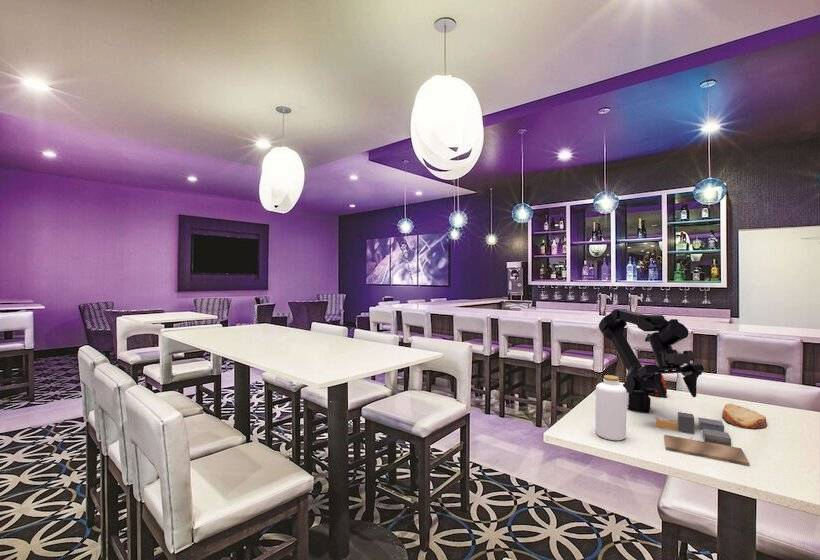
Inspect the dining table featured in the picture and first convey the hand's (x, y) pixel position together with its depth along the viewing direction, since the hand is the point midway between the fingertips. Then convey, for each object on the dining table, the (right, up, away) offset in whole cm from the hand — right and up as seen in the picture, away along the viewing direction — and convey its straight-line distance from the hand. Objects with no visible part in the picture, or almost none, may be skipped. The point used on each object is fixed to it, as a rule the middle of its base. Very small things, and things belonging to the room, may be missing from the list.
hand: (680, 397), depth 123 cm
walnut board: (-3, -11, -14) cm, 18 cm away
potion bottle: (-24, -11, -4) cm, 26 cm away
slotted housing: (+8, -11, -3) cm, 14 cm away
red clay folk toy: (+16, -10, +38) cm, 42 cm away
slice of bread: (+28, -11, +12) cm, 33 cm away
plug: (-1, -11, +2) cm, 11 cm away
